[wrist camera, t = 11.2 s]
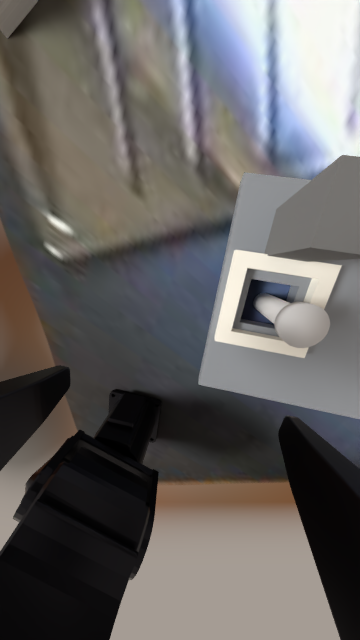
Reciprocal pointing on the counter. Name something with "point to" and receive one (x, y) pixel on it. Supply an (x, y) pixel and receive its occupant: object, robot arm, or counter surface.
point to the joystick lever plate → (301, 248)
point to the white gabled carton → (13, 14)
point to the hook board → (274, 368)
